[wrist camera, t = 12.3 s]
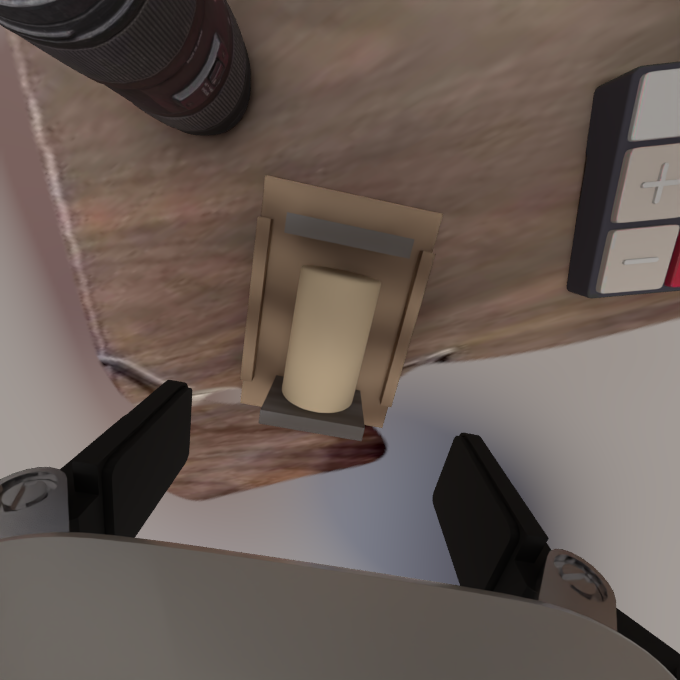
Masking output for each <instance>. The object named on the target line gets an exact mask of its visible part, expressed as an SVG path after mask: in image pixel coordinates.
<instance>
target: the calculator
mask: <svg viewBox="0 0 680 680" xmlns="http://www.w3.org/2000/svg"><path fill="white" fill-rule="evenodd" d="M586 155H587V162H586V168H585V174H584V180H583V185H582V191H581V197H580V202H579V208H578V214H577V219H576V225H575V232H574V239H573V246H572V253H571V260H570V267H569V274H568V281H567V290H568V291H570V292H573V293H576V294H579V295H582V296H585V297H588V298H601V297H612V296H624V295H635V294H646V293H658V292H669V291H680V62H672V63H663V64H655V65H646V66H640V67H638V68H635V69H633V70H631V71H629V72H627V73H625V74H623V75H621V76H619V77H617V78H615V79H613V80H611V81H609V82H607V83H605V84H603V85H601V86H599V87H598V88H597V89H596V90H595V93H594V98H593V105H592V112H591V119H590V126H589V133H588V140H587V147H586Z"/></svg>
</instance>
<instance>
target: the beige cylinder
mask: <svg viewBox="0 0 680 680" xmlns="http://www.w3.org/2000/svg"><path fill="white" fill-rule="evenodd" d="M380 287H381V282H380V281H378V280H376V279H373V278H371V277H368V276H364V275H361V274H357V273H353V272H349V271H345V270H340V269H335V268H329V267H322V266H314V265H303V266H301V272H300V278H299V284H298V290H297V297H296V303H295V309H294V315H293V322H292V328H291V334H290V341H289V347H288V353H287V359H286V366H285V372H284V378H283V384H282V393H283V395H284V396H285V398H286V399H287V400H288V401H290V402H291V403H292V404H294V405H296V406H298V407H300V408H302V409H305V410H309V411H313V412H319V413H335V412H340V411H343V410H345V409H347V408H348V407H349V406H350V405H351V404H352V401H353V397H354V393H355V389H356V385H357V381H358V377H359V373H360V369H361V365H362V361H363V356H364V352H365V348H366V344H367V340H368V336H369V332H370V328H371V324H372V320H373V316H374V312H375V308H376V304H377V299H378V295H379V291H380Z"/></svg>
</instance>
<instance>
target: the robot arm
mask: <svg viewBox="0 0 680 680" xmlns="http://www.w3.org/2000/svg"><path fill="white" fill-rule="evenodd" d="M191 406H192V389H191V388H188V386H187V383H184V382H179V381H173V380H167V381H166V382H165V383H163V384H162V385H161V386H160V387H159V388H158V389H156V390H155V391H154V392H153V393H152V394H150V395H149V396H148V397H147V398H146V399H145V400H143V401H142V402H141V403H140V404H139V405H137V406H136V407H135V408H134V409H133V410H132V411H130V412H129V413H128V414H127V415H125V416H123V417H122V418H121V419H120V420H119V421H117V422H116V423H115V424H114V425H112V426H111V427H110V428H109V429H108V430H106V431H105V432H104V433H103V434H102V435H101V436H99V437H98V438H97V439H96V440H95V441H93V442H92V443H91V444H90V445H89V446H88V447H86V448H85V449H84V450H83V451H81V452H80V453H79V454H78V455H77V456H76V457H74V458H73V459H72V460H71V461H70V462H68V463H67V464H66V465H65V466H64V467H62V468H61V469H60V470H59V469H56V468H51V467H37V468H31V469H26V470H23V471H19V472H16V473H13V474H11V475H9V476H7V477H4V478H2V479H0V680H680V654H679V653H678V652H676V651H675V650H674V649H672V648H671V647H670V646H668V645H666V644H665V643H664V642H663V641H661V640H660V639H658V638H657V637H656V636H654V635H653V634H652V633H650V632H649V631H647V630H646V629H645V628H643V627H642V626H641V625H639V624H638V623H636V622H635V621H634V620H632V619H631V618H630V617H628V616H627V615H625V614H624V613H623V612H621V611H620V610H619V609H617V608H616V599H615V595H614V592H613V590H612V588H611V587H610V585H609V583H608V582H607V581H606V580H605V578H604V577H603V576H602V575H601V574H600V573H599V572H598V571H597V570H596V569H595V568H594V567H593V566H592V565H591V564H589V563H588V562H586V561H585V560H584V559H582V558H581V557H579V556H577V555H575V554H573V553H572V552H569V551H566V550H563V549H554V550H551V549H550V548H549V546H548V544H547V543H546V542H547V540H548V537H547V535H546V534H545V532H544V531H543V529H542V528H541V526H540V525H539V523H538V522H537V520H536V519H535V517H534V516H533V514H532V513H531V511H530V510H529V508H528V507H527V506H526V504H525V502H524V501H523V499H522V498H521V496H520V495H519V493H518V492H517V490H516V489H515V488H514V486H513V485H512V483H511V482H510V480H509V479H508V477H507V476H506V474H505V473H504V471H503V470H502V468H501V467H500V465H499V464H498V462H497V461H496V459H495V458H494V456H493V455H492V453H491V452H490V450H489V449H488V447H487V446H486V444H485V443H484V441H483V440H482V438H481V437H480V436H478V435H474V434H468V433H461V434H460V435H459V436H456V437H455V438H454V440H453V443H452V446H451V448H450V451H449V453H448V456H447V459H446V461H445V464H444V467H443V470H442V472H441V474H440V477H439V480H438V482H437V485H436V487H435V490H434V493H433V505H434V508H435V511H436V514H437V517H438V520H439V523H440V526H441V529H442V532H443V535H444V538H445V541H446V544H447V547H448V550H449V553H450V556H451V559H452V562H453V565H454V568H455V571H456V574H457V577H458V580H459V583H460V586H458V585H452V584H445V583H439V582H432V581H426V580H420V579H413V578H407V577H401V576H394V575H388V574H382V573H376V572H369V571H362V570H355V569H349V568H343V567H336V566H329V565H323V564H316V563H310V562H303V561H295V560H289V559H282V558H276V557H269V556H263V555H255V554H249V553H242V552H235V551H227V550H221V549H214V548H207V547H200V546H193V545H186V544H179V543H172V542H164V541H156V540H148V539H140V538H135V536H136V535H137V534H138V532H139V531H140V529H141V527H142V526H143V525H144V523H145V522H146V520H147V519H148V517H149V516H150V514H151V513H152V511H153V510H154V509H155V507H156V506H157V504H158V503H159V501H160V500H161V498H162V497H163V495H164V494H165V492H166V491H167V489H168V488H169V487H170V485H171V484H172V482H173V481H174V479H175V478H176V476H177V475H178V473H179V472H180V470H181V469H182V467H183V466H184V464H185V463H186V461H187V458H188V455H189V445H190V425H191Z"/></svg>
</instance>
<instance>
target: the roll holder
mask: <svg viewBox="0 0 680 680" xmlns="http://www.w3.org/2000/svg"><path fill="white" fill-rule="evenodd" d="M442 217H443V214H441V213H436V212H432V211H427V210H422V209H418V208H413V207H409V206H404V205H400V204H395V203H390V202H386V201H381V200H377V199H372V198H368V197H363V196H359V195H354V194H349V193H345V192H340V191H336V190H331V189H327V188H322V187H318V186H313V185H308V184H304V183H299V182H295V181H290V180H286V179H281V178H277V177H272V176H267V175H265V184H264V193H263V202H262V211H261V217H259V216H258V217H257V227H256V236H255V246H254V255H253V264H252V274H251V283H250V293H249V302H248V311H247V321H246V330H245V340H244V349H243V359H242V368H241V377H240V380H243V385H242V395H241V403H244V404H249V405H255V406H261V410H260V417H259V423H260V424H266V425H271V426H277V427H283V428H289V429H294V430H300V431H306V432H312V433H318V434H323V435H329V436H335V437H341V438H347V439H352V440H358V441H361V440H362V436H363V433H364V429H365V426H364V425H369V426H374V427H380V428H382V427H383V423H384V420H385V416H386V413H387V409H388V407H391V406H392V402H393V399H394V396H395V392H396V389H397V385H398V382H399V378H400V375H401V371H402V368H403V365H404V361H405V358H406V354H407V351H408V347H409V344H410V340H411V337H412V333H413V330H414V327H415V323H416V320H417V316H418V313H419V309H420V306H421V302H422V299H423V295H424V292H425V289H426V285H427V282H428V278H429V275H430V271H431V268H432V264H433V261H434V257H435V254H434V253H432V252H433V248H434V245H435V241H436V238H437V234H438V231H439V227H440V224H441V220H442ZM303 265H314V266H322V267H329V268H335V269H340V270H345V271H349V272H353V273H357V274H361V275H364V276H368V277H371V278H373V279H376V280H378V281H380V282H381V287H380V291H379V295H378V299H377V304H376V308H375V312H374V316H373V320H372V324H371V328H370V332H369V336H368V340H367V344H366V348H365V352H364V356H363V361H362V365H361V369H360V373H359V377H358V381H357V385H356V389H355V393H354V397H353V401H352V404H351V405H350V406H349V407H348V408H347V409H345V410H343V411H340V412H335V413H319V412H313V411H309V410H305V409H302V408H300V407H298V406H296V405H294V404H292V403H291V402H290V401H288V400H287V399H286V398H285V396H284V395H283V393H282V384H283V378H284V372H285V366H286V359H287V353H288V347H289V341H290V334H291V328H292V322H293V315H294V309H295V303H296V297H297V290H298V284H299V278H300V272H301V266H303Z"/></svg>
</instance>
